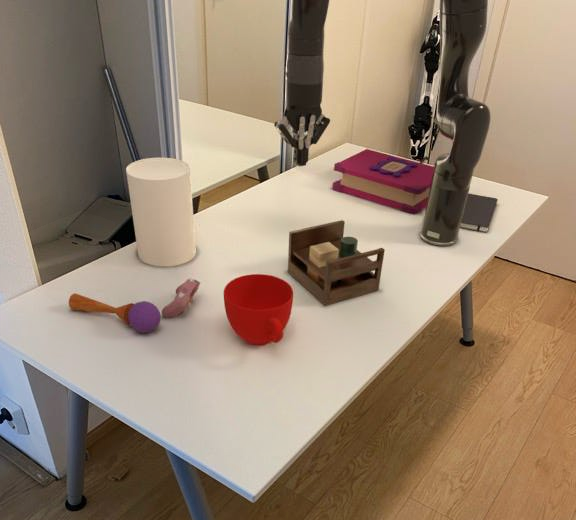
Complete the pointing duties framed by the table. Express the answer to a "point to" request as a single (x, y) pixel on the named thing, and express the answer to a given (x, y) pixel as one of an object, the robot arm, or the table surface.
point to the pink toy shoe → (181, 298)
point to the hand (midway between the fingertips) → (300, 164)
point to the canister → (162, 210)
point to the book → (385, 180)
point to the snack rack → (332, 263)
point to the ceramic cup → (258, 307)
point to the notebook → (478, 212)
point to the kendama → (122, 312)
